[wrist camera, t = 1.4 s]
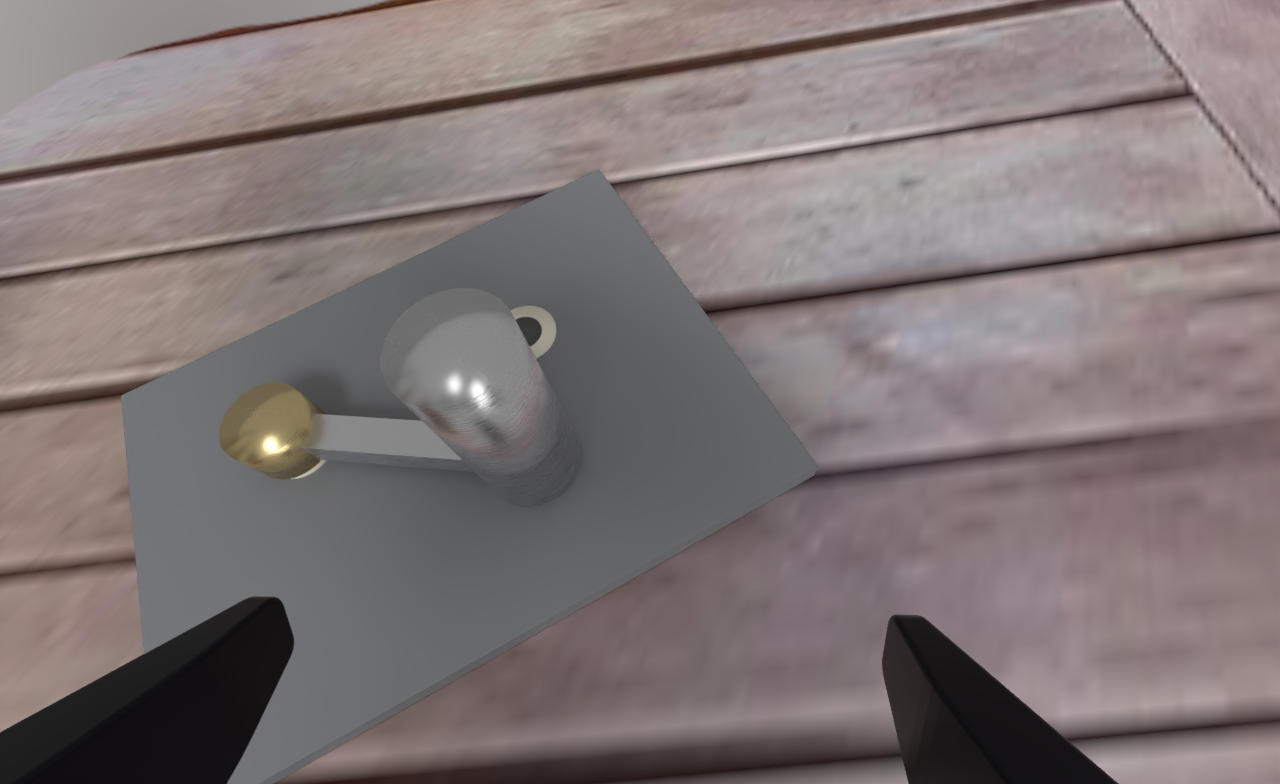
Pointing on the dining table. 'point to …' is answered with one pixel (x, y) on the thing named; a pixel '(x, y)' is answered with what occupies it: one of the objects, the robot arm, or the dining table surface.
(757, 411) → the bolt-hole plate
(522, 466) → the ball-knob lever
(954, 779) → the robot arm
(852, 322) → the dining table surface
